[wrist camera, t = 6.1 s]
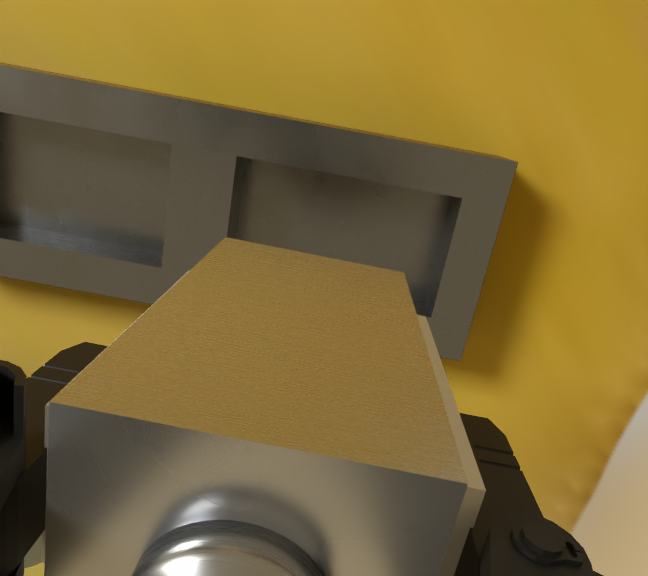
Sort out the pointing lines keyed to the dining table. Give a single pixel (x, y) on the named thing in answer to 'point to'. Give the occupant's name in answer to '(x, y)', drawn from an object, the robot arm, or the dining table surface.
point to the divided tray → (232, 194)
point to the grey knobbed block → (257, 430)
